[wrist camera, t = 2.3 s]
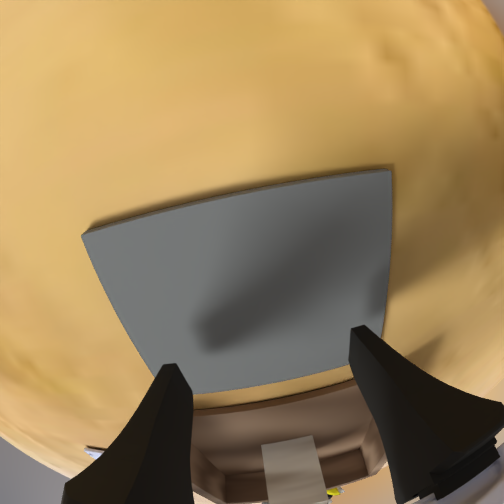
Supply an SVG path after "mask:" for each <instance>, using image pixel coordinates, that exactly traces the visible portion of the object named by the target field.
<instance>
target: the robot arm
mask: <svg viewBox="0 0 504 504" xmlns="http://www.w3.org/2000/svg"><path fill="white" fill-rule="evenodd" d="M348 361H349V364H350V367H351V370H352V373H353V376H354V378H355V381H356V383H357V385H358V387H359V389H360V391H361V393H362V395H363V397H364V400H365V402H366V404H367V406H368V408H369V410H370V412H371V414H372V416H373V418H374V420H375V423H376V425H377V428H378V431H379V434H380V437H381V440H382V443H383V446H384V450H385V453H386V457H387V461H388V465H389V469H390V473H391V478H392V482H393V488H394V494H395V500H396V503H397V504H404V503H406V502H408V501H410V500H412V499H414V498H416V497H418V496H419V498H420V500H419V501H417V502H415V503H413V504H503V503H504V443H503V444H501V445H500V446H499V447H498V448H497V449H496V447H495V444H496V443H497V440H496V438H495V437H494V436H495V435H496V434H498V433H499V432H500V431H501V430H502V428H504V405H503V404H502V403H501V402H497V401H493V400H489V399H485V398H481V397H478V396H475V395H472V394H469V393H466V392H464V391H461V390H459V389H457V388H455V387H452V386H450V385H448V384H446V383H444V382H442V381H440V380H438V379H436V378H435V377H433V376H431V375H429V374H428V373H426V372H425V371H423V370H421V369H420V368H418V367H417V366H416V365H414V364H413V363H411V362H410V361H408V360H407V359H406V358H404V357H403V356H402V355H401V354H399V353H398V352H397V351H395V350H394V349H393V348H392V347H390V346H389V345H388V344H387V343H386V342H384V341H383V340H382V339H381V338H380V337H378V336H377V335H376V334H375V333H374V332H373V331H372V330H370V329H369V328H368V327H367V326H366V325H361V326H357V327H354V328H351V331H350V345H349V357H348ZM192 425H193V391H192V389H191V387H190V386H189V384H188V382H187V381H186V379H185V377H184V376H183V374H182V372H181V370H180V369H179V367H178V365H177V363H171V364H163V365H162V367H161V368H160V370H159V372H158V374H157V375H156V377H155V379H154V381H153V383H152V384H151V386H150V388H149V390H148V391H147V393H146V395H145V397H144V398H143V400H142V402H141V403H140V405H139V407H138V408H137V410H136V411H135V413H134V414H133V416H132V417H131V419H130V420H129V422H128V423H127V425H126V426H125V428H124V429H123V430H122V432H121V433H120V434H119V435H118V437H117V438H116V439H115V440H114V441H113V443H112V444H111V445H110V446H109V447H108V448H107V449H106V450H105V451H102V450H96V449H90V448H84V451H85V452H86V453H87V454H89V455H90V456H91V457H93V458H94V459H96V460H95V461H94V462H93V463H92V464H91V465H90V466H88V467H87V468H86V469H85V470H83V471H82V472H81V473H79V474H78V475H77V476H75V477H74V478H72V479H71V480H70V481H68V482H66V483H65V486H64V491H63V496H62V502H61V504H194V498H193V490H192V481H191V468H190V451H191V438H192Z"/></svg>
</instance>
